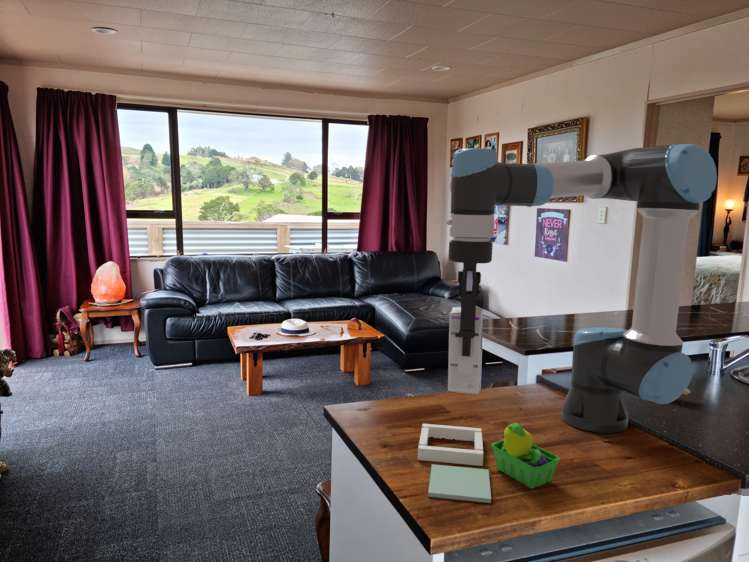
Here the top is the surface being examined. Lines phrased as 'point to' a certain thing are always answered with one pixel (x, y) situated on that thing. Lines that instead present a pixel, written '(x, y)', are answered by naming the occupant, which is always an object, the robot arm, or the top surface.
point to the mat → (460, 483)
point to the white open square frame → (451, 453)
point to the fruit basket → (523, 457)
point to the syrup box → (457, 380)
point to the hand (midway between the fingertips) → (464, 367)
